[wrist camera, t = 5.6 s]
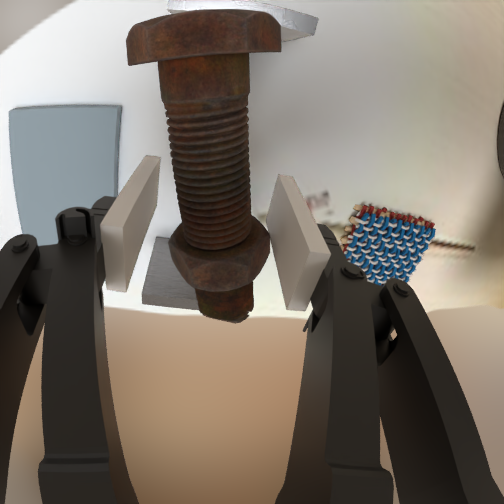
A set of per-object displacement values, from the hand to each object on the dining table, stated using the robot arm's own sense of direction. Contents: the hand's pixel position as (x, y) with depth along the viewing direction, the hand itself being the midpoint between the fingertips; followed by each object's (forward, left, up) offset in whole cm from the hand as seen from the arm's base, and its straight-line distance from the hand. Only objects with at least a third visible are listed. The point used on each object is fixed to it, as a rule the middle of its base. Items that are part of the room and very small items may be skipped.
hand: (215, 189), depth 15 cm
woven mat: (-18, +8, -9) cm, 21 cm away
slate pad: (+12, +6, -8) cm, 16 cm away
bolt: (0, -1, -1) cm, 1 cm away
